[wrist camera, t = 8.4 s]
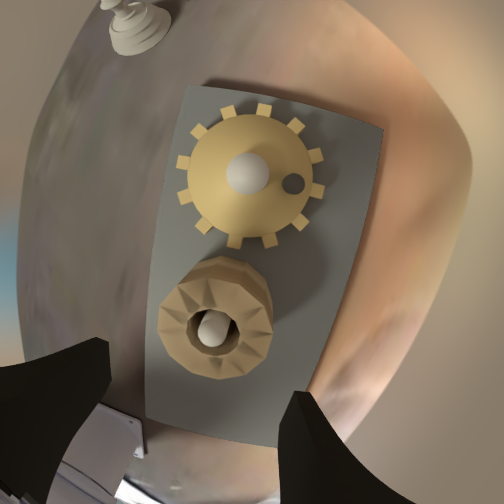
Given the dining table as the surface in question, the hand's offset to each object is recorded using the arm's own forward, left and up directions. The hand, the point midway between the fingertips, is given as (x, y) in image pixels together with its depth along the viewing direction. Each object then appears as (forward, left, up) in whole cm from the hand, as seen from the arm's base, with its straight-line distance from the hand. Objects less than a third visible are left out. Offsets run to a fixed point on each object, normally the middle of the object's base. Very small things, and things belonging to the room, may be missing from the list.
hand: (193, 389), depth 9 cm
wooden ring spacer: (0, 0, -8) cm, 8 cm away
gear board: (+1, 0, -9) cm, 9 cm away
